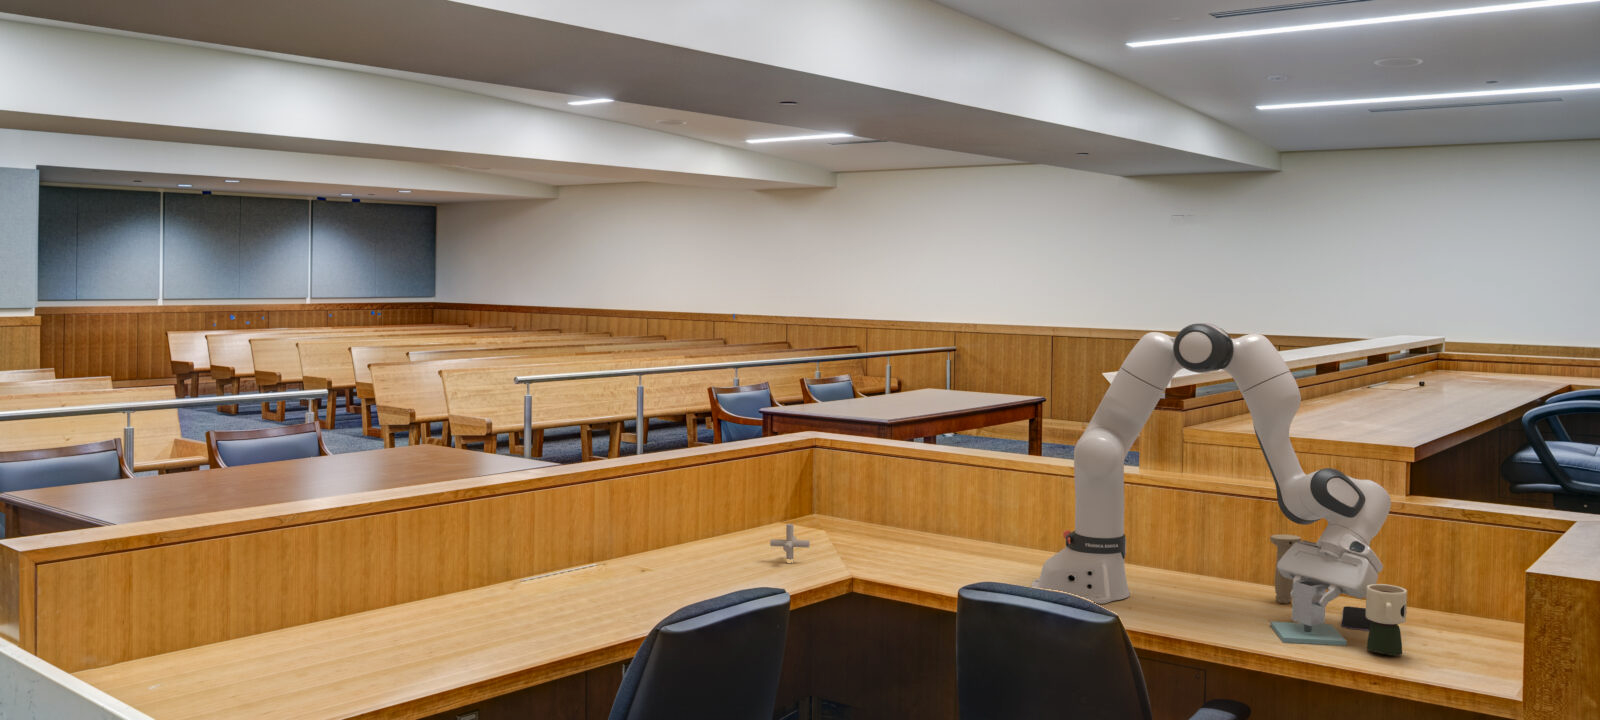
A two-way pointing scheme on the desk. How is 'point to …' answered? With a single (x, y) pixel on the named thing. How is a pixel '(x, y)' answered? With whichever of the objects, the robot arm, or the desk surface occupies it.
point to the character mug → (1385, 617)
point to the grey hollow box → (1307, 602)
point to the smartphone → (1355, 618)
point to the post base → (1308, 633)
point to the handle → (1281, 583)
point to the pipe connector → (789, 542)
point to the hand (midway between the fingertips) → (1306, 601)
